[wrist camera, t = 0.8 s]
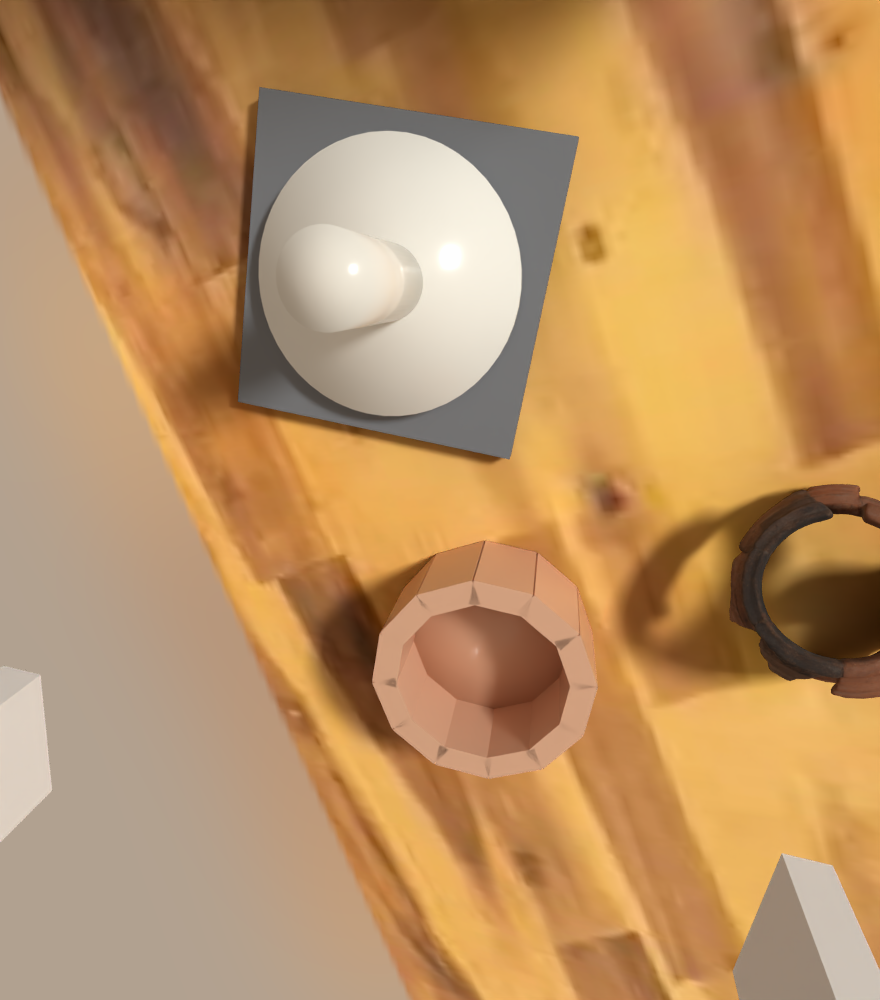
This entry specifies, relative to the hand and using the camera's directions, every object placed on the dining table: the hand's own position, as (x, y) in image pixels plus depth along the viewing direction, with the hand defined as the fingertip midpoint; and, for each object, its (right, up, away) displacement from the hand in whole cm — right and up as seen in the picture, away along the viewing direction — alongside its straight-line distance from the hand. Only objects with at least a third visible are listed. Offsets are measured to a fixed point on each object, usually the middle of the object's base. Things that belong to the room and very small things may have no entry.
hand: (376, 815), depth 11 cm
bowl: (+4, -2, +24) cm, 25 cm away
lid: (-1, +16, +19) cm, 24 cm away
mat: (-1, +16, +19) cm, 25 cm away
